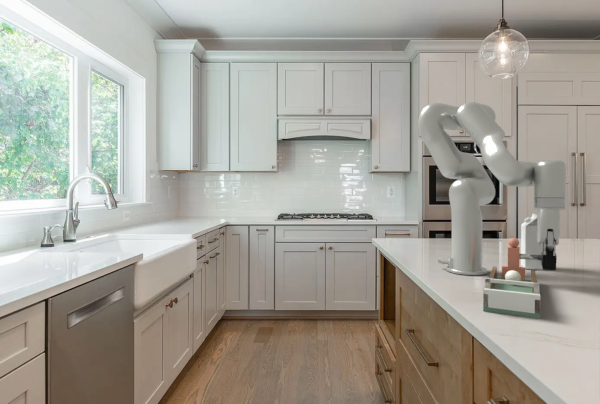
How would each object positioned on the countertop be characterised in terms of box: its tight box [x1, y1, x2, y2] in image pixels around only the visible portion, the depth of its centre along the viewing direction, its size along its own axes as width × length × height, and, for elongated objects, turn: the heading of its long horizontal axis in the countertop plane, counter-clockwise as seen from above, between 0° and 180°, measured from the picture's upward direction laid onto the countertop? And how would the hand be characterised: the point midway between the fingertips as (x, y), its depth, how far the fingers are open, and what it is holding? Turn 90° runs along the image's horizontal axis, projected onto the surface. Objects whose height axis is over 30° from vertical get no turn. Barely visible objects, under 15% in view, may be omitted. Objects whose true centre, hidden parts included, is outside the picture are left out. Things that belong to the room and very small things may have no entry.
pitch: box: [482, 266, 541, 320], centre depth 101 cm, size 11×36×4 cm, turn 150°
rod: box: [501, 237, 558, 279], centre depth 113 cm, size 14×3×12 cm, turn 60°
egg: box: [505, 270, 521, 281], centre depth 108 cm, size 4×4×4 cm
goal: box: [482, 277, 541, 315], centre depth 88 cm, size 11×6×5 cm, turn 60°
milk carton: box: [520, 213, 545, 271], centre depth 136 cm, size 7×7×19 cm
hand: (548, 267), depth 110 cm, fingers open, 4 cm apart
